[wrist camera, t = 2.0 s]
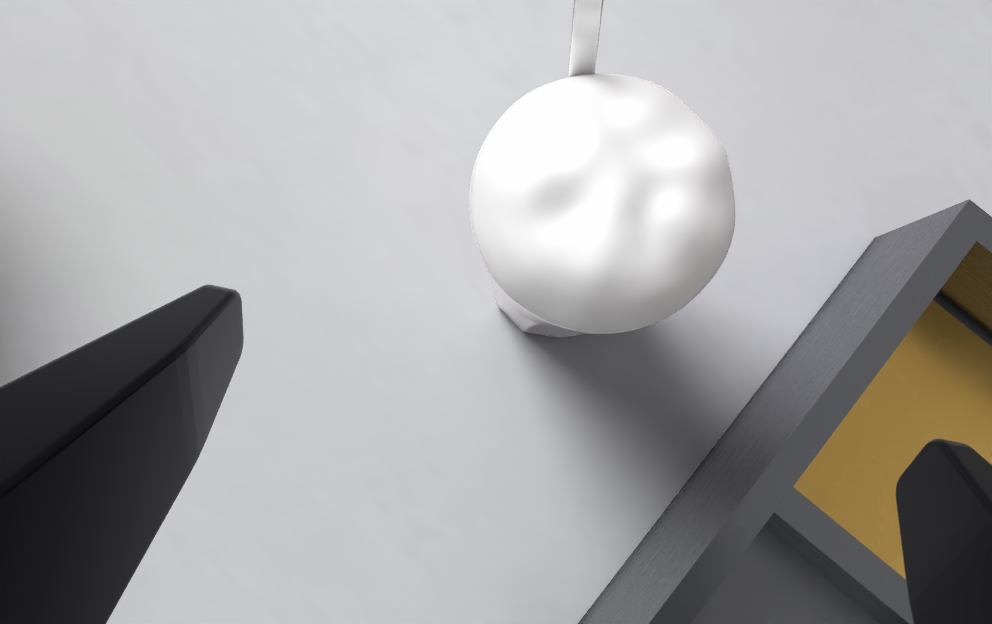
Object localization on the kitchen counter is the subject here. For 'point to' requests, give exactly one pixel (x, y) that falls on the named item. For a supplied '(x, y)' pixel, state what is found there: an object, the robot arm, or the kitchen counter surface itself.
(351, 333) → the kitchen counter surface
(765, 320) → the kitchen counter surface
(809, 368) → the rack
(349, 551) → the kitchen counter surface
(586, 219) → the milkshake
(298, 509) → the kitchen counter surface
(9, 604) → the robot arm
